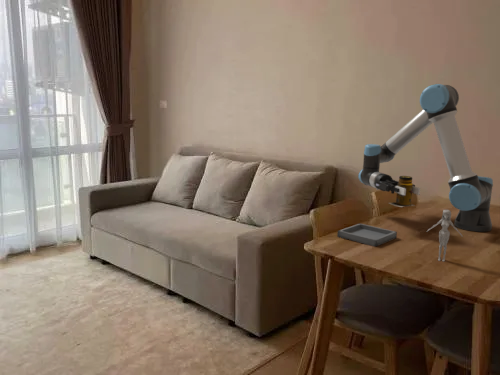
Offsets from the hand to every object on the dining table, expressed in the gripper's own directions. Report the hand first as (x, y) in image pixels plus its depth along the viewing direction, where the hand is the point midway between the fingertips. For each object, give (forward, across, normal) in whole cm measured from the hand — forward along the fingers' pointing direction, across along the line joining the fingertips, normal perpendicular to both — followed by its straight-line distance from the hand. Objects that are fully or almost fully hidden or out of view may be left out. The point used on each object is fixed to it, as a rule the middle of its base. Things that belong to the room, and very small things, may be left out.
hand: (412, 191), depth 199 cm
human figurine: (+30, +7, -18) cm, 36 cm away
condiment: (-5, +1, -7) cm, 9 cm away
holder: (+1, +20, -18) cm, 27 cm away
